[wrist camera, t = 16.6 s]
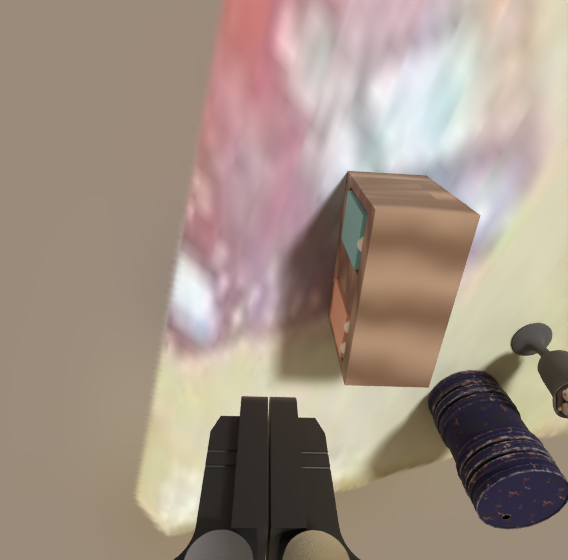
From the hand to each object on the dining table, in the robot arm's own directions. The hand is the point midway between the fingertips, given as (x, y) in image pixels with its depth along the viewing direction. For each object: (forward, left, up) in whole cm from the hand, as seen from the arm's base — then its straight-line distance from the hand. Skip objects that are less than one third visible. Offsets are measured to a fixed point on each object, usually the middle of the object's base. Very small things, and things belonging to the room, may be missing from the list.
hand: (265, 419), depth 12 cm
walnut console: (+9, +12, -33) cm, 36 cm away
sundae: (+20, +34, -33) cm, 52 cm away
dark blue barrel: (+30, +28, -33) cm, 53 cm away
